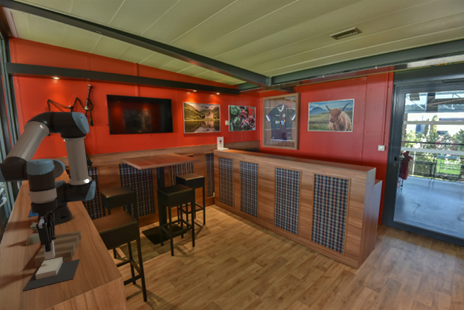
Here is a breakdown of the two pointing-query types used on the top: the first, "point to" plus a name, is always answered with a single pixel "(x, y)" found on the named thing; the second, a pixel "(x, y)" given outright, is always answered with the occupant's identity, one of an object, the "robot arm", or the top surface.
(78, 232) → the brown wooden flat slab
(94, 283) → the top surface
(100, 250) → the top surface
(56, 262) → the block
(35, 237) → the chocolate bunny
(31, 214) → the handheld gaming device
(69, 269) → the mat
